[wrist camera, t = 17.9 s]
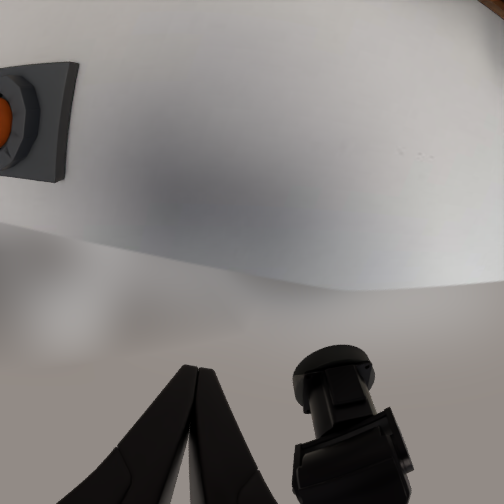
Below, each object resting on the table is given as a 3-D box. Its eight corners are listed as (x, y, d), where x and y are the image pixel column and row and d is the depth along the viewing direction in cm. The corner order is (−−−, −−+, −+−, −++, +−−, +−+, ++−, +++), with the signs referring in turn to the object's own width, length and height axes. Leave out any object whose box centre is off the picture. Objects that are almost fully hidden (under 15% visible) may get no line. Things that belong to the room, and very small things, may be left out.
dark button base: (79, 63, 15) (55, 58, 12) (64, 178, 18) (41, 190, 15) (-15, 72, 14) (-40, 73, 11) (-24, 168, 17) (-47, 177, 14)
